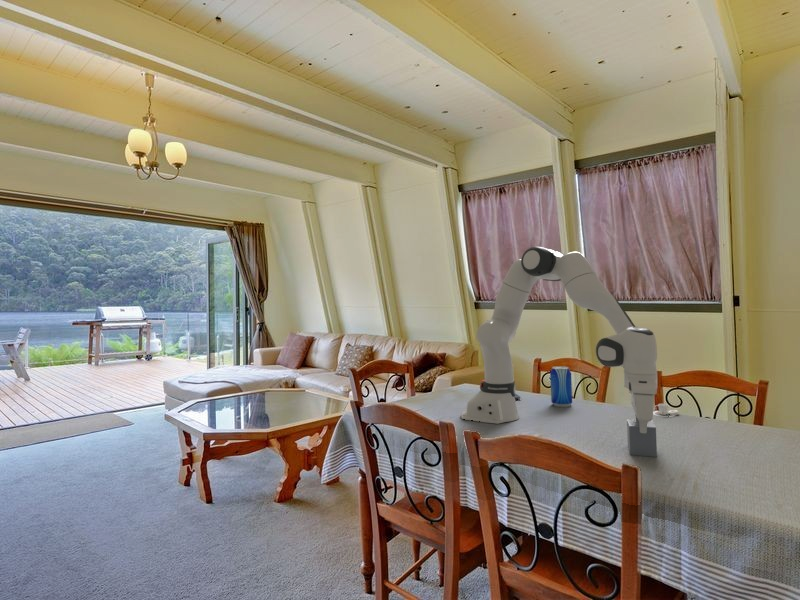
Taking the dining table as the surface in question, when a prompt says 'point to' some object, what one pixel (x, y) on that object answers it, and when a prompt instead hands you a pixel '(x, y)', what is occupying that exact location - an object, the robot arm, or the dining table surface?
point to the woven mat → (517, 397)
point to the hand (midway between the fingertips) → (641, 427)
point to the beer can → (561, 386)
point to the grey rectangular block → (641, 439)
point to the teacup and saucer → (665, 410)
